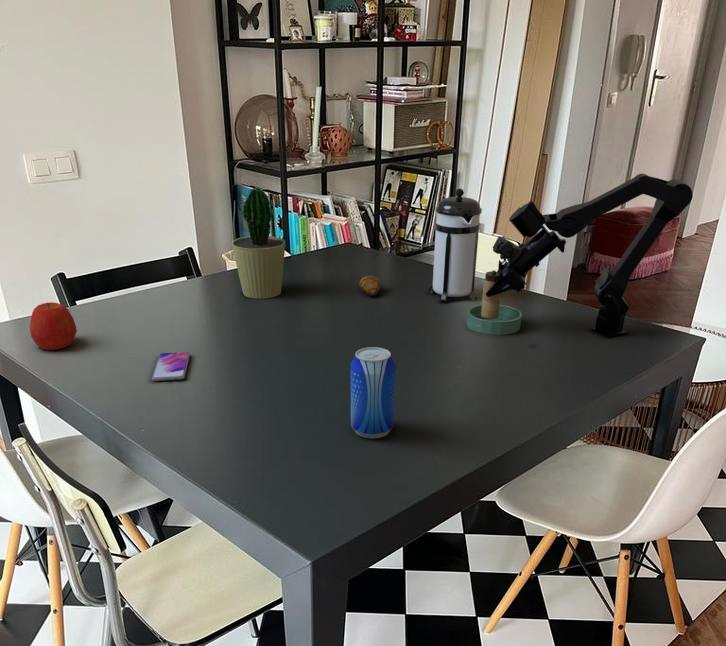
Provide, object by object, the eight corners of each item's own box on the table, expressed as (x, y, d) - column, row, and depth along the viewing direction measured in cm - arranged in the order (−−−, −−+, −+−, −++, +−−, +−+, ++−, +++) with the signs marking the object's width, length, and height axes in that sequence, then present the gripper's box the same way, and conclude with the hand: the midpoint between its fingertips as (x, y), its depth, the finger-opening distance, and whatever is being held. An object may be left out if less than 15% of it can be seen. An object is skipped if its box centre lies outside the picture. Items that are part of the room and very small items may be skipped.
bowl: (500, 315, 202) (501, 301, 200) (531, 332, 191) (533, 317, 189) (456, 322, 197) (457, 308, 195) (485, 340, 186) (487, 324, 184)
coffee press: (487, 293, 219) (497, 186, 203) (464, 307, 207) (473, 195, 191) (436, 283, 227) (442, 180, 211) (410, 297, 215) (415, 189, 199)
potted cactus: (243, 283, 226) (235, 180, 210) (292, 286, 224) (288, 181, 208) (229, 299, 213) (219, 190, 197) (281, 302, 211) (275, 191, 195)
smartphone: (151, 378, 162) (159, 353, 175) (151, 382, 163) (160, 356, 175) (184, 376, 163) (190, 351, 176) (184, 380, 163) (190, 354, 176)
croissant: (385, 297, 215) (385, 280, 212) (362, 299, 214) (362, 282, 211) (376, 284, 226) (377, 268, 223) (355, 285, 225) (355, 269, 222)
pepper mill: (492, 311, 195) (496, 267, 189) (501, 317, 192) (506, 271, 185) (477, 314, 193) (481, 269, 187) (487, 319, 190) (491, 273, 184)
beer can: (349, 421, 147) (348, 345, 139) (390, 419, 148) (392, 344, 139) (352, 441, 140) (352, 363, 132) (396, 439, 141) (398, 361, 132)
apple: (88, 344, 182) (79, 302, 176) (46, 356, 175) (36, 313, 169) (66, 334, 188) (57, 293, 182) (25, 345, 181) (15, 303, 176)
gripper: (512, 218, 188) (466, 260, 195) (516, 235, 172) (465, 280, 179) (539, 250, 191) (493, 290, 198) (546, 270, 175) (495, 313, 182)
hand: (486, 292), depth 189 cm, fingers closed on pepper mill, 4 cm apart
